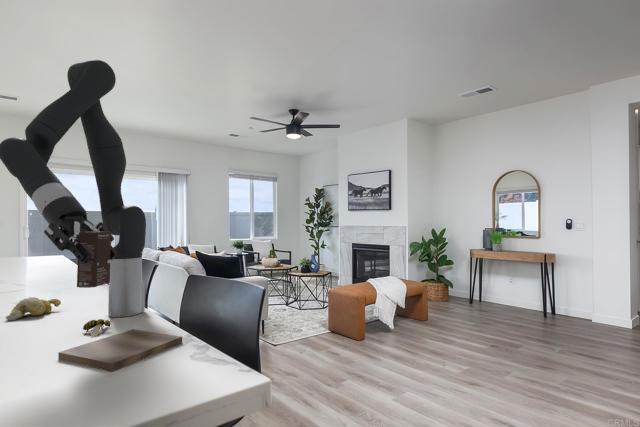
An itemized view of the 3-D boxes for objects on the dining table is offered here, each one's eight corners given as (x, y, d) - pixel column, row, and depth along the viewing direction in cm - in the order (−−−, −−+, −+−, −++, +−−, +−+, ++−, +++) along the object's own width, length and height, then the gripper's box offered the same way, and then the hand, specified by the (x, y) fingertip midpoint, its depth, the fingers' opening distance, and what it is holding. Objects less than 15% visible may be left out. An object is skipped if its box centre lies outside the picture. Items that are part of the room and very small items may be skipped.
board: (132, 335, 94) (132, 329, 94) (182, 343, 88) (182, 336, 88) (58, 359, 78) (58, 352, 78) (112, 371, 71) (112, 363, 71)
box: (97, 287, 81) (97, 231, 81) (76, 287, 81) (76, 231, 81) (112, 282, 87) (112, 230, 87) (92, 283, 87) (92, 230, 87)
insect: (88, 320, 102) (96, 303, 102) (111, 327, 104) (118, 311, 104) (74, 339, 91) (83, 321, 91) (98, 347, 93) (107, 329, 93)
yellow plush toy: (-3, 299, 112) (54, 288, 124) (-3, 318, 112) (54, 306, 125) (10, 307, 107) (68, 295, 119) (10, 328, 107) (68, 314, 120)
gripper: (37, 193, 79) (82, 250, 76) (94, 196, 93) (134, 245, 90) (18, 218, 81) (61, 275, 78) (77, 218, 95) (116, 266, 91)
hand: (100, 259), depth 84 cm, fingers closed on box, 6 cm apart
